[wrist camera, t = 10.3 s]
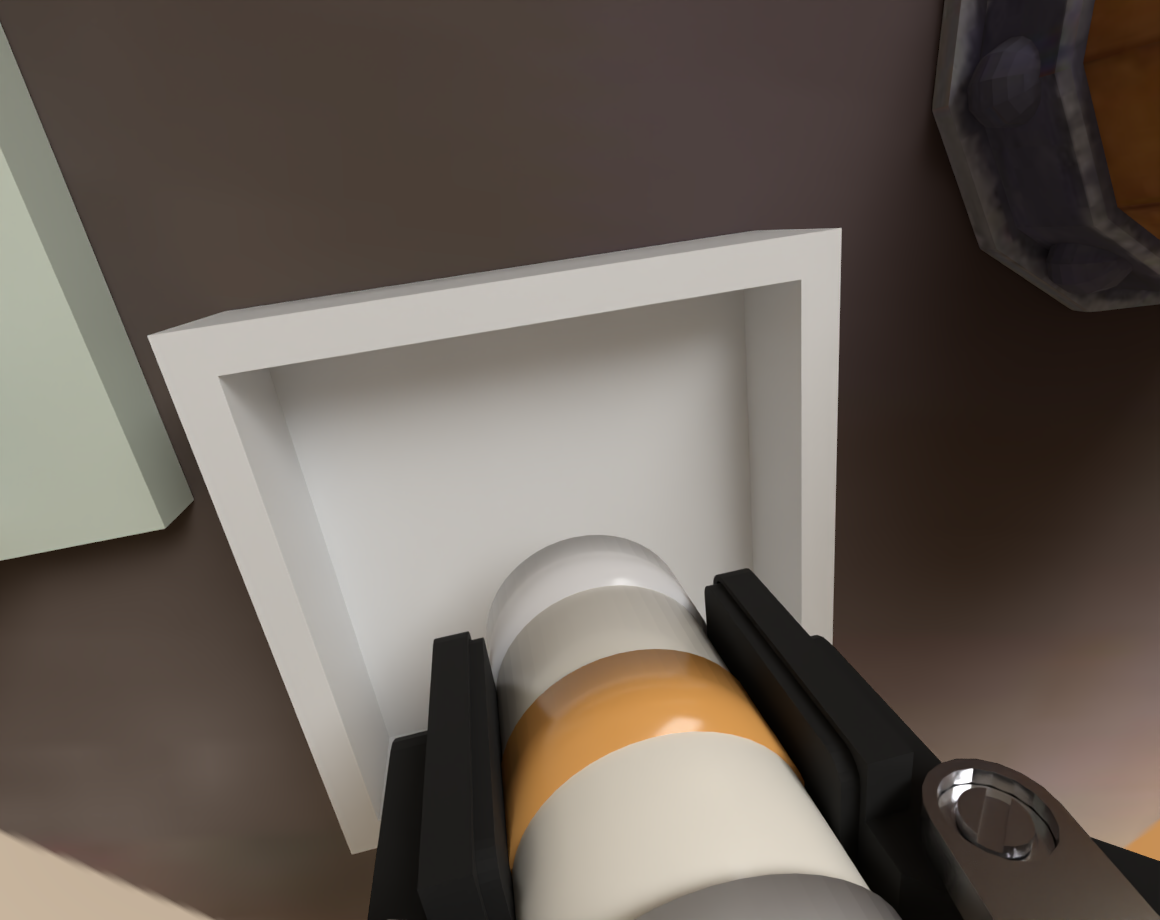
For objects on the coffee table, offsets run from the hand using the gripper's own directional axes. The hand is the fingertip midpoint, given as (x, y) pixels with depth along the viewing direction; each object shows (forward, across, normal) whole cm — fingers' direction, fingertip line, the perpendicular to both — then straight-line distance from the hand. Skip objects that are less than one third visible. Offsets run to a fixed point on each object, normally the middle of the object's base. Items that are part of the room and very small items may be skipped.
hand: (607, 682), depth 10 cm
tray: (+7, 0, 0) cm, 7 cm away
